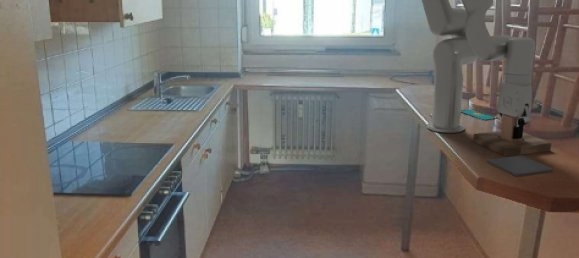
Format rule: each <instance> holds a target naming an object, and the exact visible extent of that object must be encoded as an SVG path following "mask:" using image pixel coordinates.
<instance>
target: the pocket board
mask: <svg viewBox="0 0 579 258" xmlns="http://www.w3.org/2000/svg"><path fill="white" fill-rule="evenodd" d="M500 136H501V130H496V131H487V132H478V133H473V138H472V142H474V143H476V144H477V145H480V146H482V147H485V148H487V149H489V150H491V151H493V152H495V153H498V154H499V155H502V156H503V157H512V156H520V155H527V154H528V155H530V154H536V153H544V152H550V151H551V149H552V148H551V147H552V142H549V141H547V140H545V139H542V138H539V137H536V136H534V135H531V134H529V133H527V132H524V131H523V138H522V140H521V141H513V142H509V141H506V140H504V139H502V138H500Z"/></svg>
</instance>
